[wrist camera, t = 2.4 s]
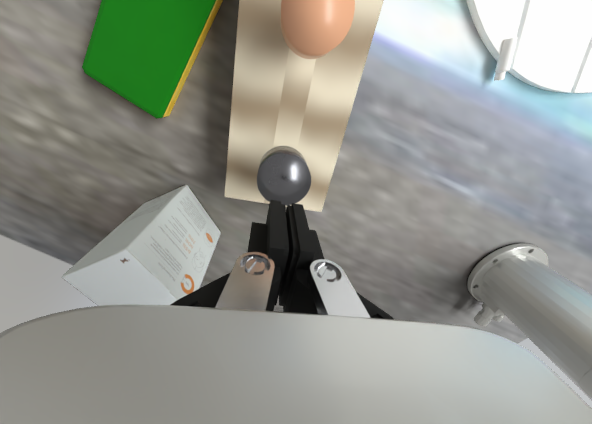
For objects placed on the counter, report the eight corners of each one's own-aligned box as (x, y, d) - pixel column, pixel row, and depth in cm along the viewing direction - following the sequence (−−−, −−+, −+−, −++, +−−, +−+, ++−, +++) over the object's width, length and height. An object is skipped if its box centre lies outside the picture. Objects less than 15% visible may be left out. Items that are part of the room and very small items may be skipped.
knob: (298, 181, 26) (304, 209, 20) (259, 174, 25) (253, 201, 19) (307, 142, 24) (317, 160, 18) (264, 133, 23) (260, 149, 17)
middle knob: (323, 69, 21) (342, 61, 15) (275, 57, 20) (275, 43, 14) (337, 8, 19) (365, -29, 13) (285, -8, 18) (289, -56, 12)
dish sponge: (233, -18, 20) (228, -31, 18) (169, 118, 25) (159, 120, 23) (152, -94, 18) (135, -118, 16) (98, 72, 23) (79, 70, 21)
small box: (143, 202, 29) (56, 276, 17) (187, 182, 28) (125, 247, 17) (183, 249, 33) (132, 336, 21) (222, 233, 32) (192, 314, 20)
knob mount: (316, 197, 30) (321, 211, 27) (230, 183, 29) (224, 196, 25) (429, -215, 16) (472, -301, 12) (272, -295, 14) (271, -421, 11)
